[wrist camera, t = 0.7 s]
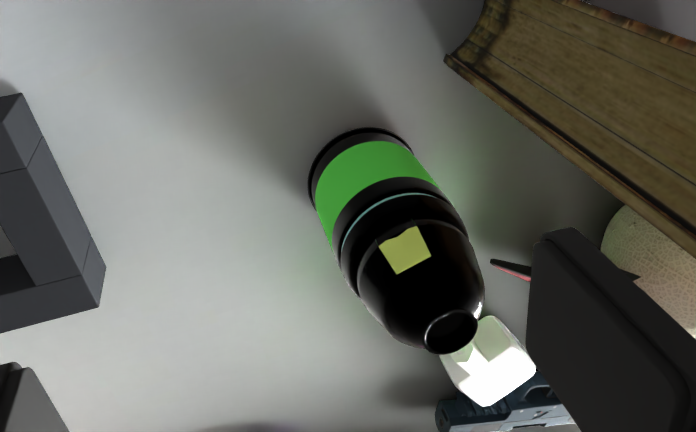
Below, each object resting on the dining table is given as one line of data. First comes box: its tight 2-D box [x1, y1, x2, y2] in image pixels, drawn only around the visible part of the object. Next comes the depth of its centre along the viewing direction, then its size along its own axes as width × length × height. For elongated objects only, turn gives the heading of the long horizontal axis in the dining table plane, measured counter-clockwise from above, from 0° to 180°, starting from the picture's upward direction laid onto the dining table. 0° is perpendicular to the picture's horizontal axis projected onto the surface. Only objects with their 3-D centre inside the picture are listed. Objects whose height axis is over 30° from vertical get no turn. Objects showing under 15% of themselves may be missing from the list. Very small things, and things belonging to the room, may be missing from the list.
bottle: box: [308, 127, 485, 355], centre depth 31 cm, size 7×7×15 cm
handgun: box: [435, 371, 575, 432], centre depth 51 cm, size 3×18×12 cm
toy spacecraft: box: [490, 259, 641, 282], centre depth 39 cm, size 4×15×10 cm
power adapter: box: [440, 316, 536, 407], centre depth 45 cm, size 11×5×6 cm
